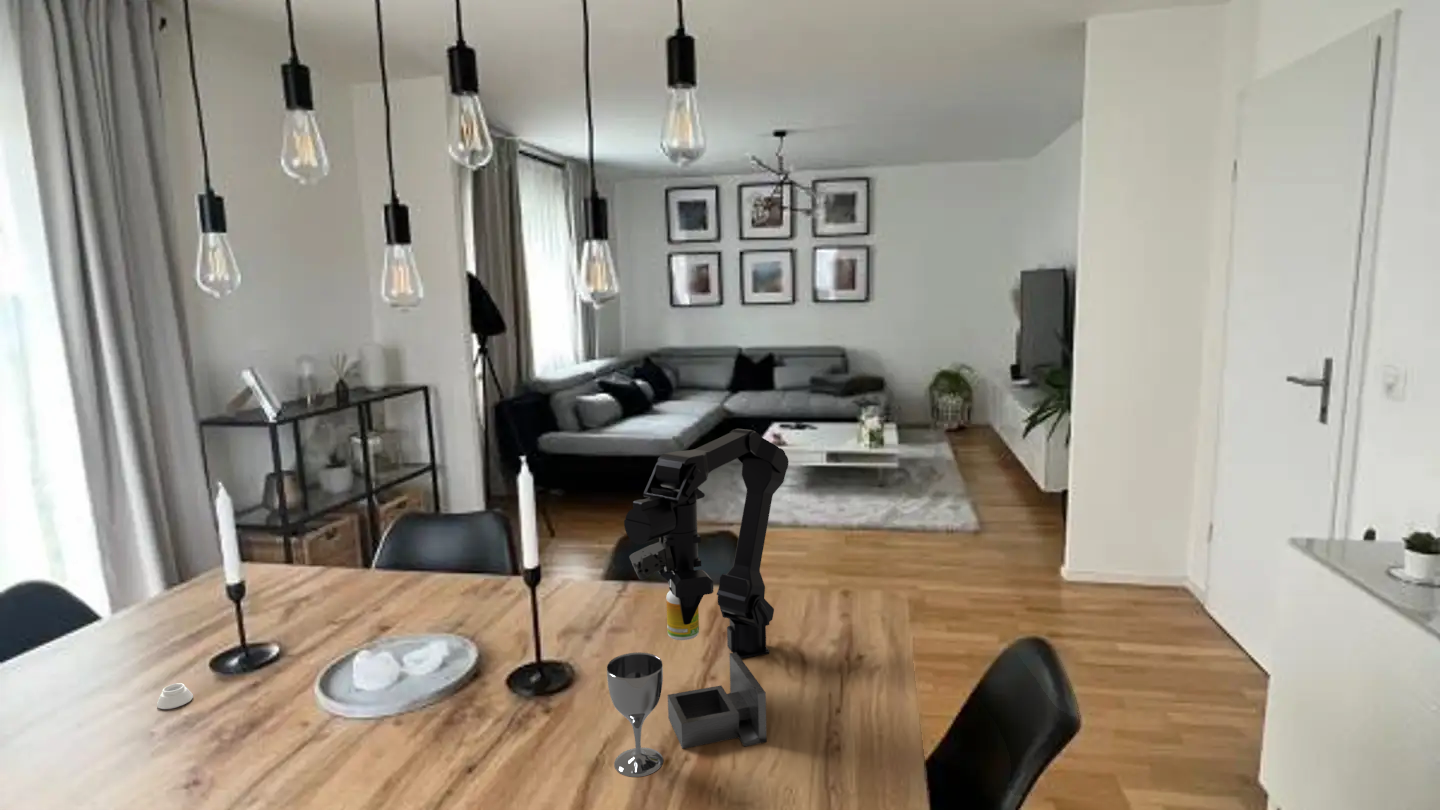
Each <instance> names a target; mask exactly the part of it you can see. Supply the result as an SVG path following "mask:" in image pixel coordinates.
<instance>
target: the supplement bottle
mask: <svg viewBox="0 0 1440 810" xmlns="http://www.w3.org/2000/svg"><path fill="white" fill-rule="evenodd" d="M670 587H671V579H670ZM665 597H666V625H667V629H666V630H667V631H666V632H667V635H668V636H669V638H671V639H672V640H675V641H689V640H692V639H694V638H696V637H697V636H698V635H699V633H700V631H699V630H700V622H699V620H700V619H699V617H700V616H699V615H700V614H699V607H698V608H697V610H696V612H695V614H694V617H693V619H692V621H691V623H690V624H686V625H685V624H684V623H683V619H682V614H681V609H680V604H679V599H678V597H675V595H673V594H672V592H671V591H670V590H669V591H668V592H667V594H666V596H665Z"/></svg>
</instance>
